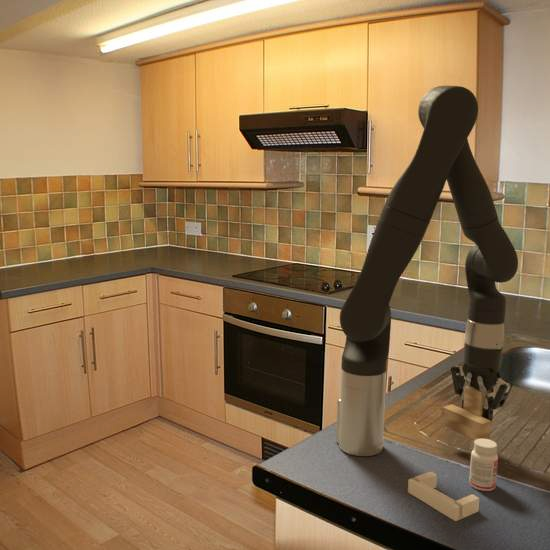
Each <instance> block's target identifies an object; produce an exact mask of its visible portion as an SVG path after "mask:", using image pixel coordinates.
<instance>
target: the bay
mask: <svg viewBox="0 0 550 550" xmlns="http://www.w3.org/2000/svg"><path fill="white" fill-rule="evenodd" d="M437 479H438V475H437V474H436V473H435V472H433V471H428V472H425V473H422V474H420V475H417V476H414V477H411V478H409V479H408V483H407V485H408V486H407V493H408V494H409V495H412V496H413V497H416V498H417V499H418V500H420V501H421V502H423V503H425V504H426V505H428V506H430V507H431V508H433V509H435V510H436V511H438V512H439V513H441V514H442V515H445V516H446V517H448V518H449V519H451V520H452V521H454V522H458V521H460V520H462V519H464V518H467V517H469V516H471V515H474V514H476V513H478V512H479V506H480V497H478V496H476V495H475V494H472V493H471V494H470V495H466V496H464V497H462V498H459V499H458V500H455V499H453V498H452V497H450V496H448V495H445V494H444V493H442V492H440V491H439V490H437V489H435V488H437Z"/></svg>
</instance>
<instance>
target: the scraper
mask: <svg viewBox="0 0 550 550" xmlns="http://www.w3.org/2000/svg"><path fill="white" fill-rule="evenodd" d="M491 390H492V389H491ZM491 390H488V391H486V392H487V393H489V392H490V391H491ZM482 393H483V392H480V390H479V389H476V388H474V387H471V386H470V387H467V386H465V394H464V405H463V409H462V407H460V406H457V405H455V404H451V403H450V404H448V405H444V406H442V409H441V418H440V421H441V422H440V425H441V426H443V427H444V428H447V429H449V430H451V431H453V432H456V433H459V434H460V435H463V436H464V437H467V438H469V439H471V440H473V441H475V440H476V439H489V440H491V434H492V433H491V430H492V422H493V420H492V421H491V420H488V419H486V418H484V417H482V409H483V408H484V407H483V398H482Z"/></svg>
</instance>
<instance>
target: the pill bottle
mask: <svg viewBox="0 0 550 550" xmlns="http://www.w3.org/2000/svg"><path fill="white" fill-rule="evenodd" d="M473 441H474V442H473V449H472V451H471V453H470V463H469V465H470V467H469V477H468V483H469V485H470V486H471V487H472V488H473V489H475V490H479V491H483V492H490V491H493V490H495V489H496V488H497V487H496V486H497V475H498V465H499V463H498V462H499V455H498V454H497V451H498V444H497V442H495V441H493V440H492V439H490V440H489V439H476V440H473Z"/></svg>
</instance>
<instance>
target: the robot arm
mask: <svg viewBox="0 0 550 550" xmlns="http://www.w3.org/2000/svg"><path fill="white" fill-rule="evenodd" d="M478 104H479V103H478V99H477V97H476V96H475V94H474V93H473V92H472V91H471V90H470V89H468V88H467V87H463V86H460V85H439V86H436V87H433V88H431V89H429V90H428V91H427V92H426V93H424V95H423V96H422V97H421V100H420V102H419V105H418V110H417V112H418V113H417V114H418V120H419V122H420V124H421V125H422V127H423V131H422V135H421V138H420V140H419V144H418V146H417V149H416V151H415V153H414V155H413V157H412V159H411V160H410V162H409V164H408V166H407V167H406V168H405V170H404V172H402V174H401V175H400V176H399V178H398V179H397V181H396V183H394V185H393V187H392V189H391V190H390V192H389V194H388V196H387V198H386V200H385V203H384V205H383V207H382V210H381V212H380V215H379V216H378V219H377V222H376V225H375V228H374V231H373V234H372V235H371V236H372V237H371V240H370V243H369V245H368V249H367V252H366V255H365V259H364V262H363V264H362V268H361V270H360V272H359V275H358V277H357V279H356V281H355V283H354V285H353V286H352V288H351V290H350V292H349V293H348V295H347V298H346V299H345V301H344V303H343V305H342V306H341V309H340V313H339V324H340V328H341V330H342V332H343V333H344V335H345V336H346V337H345V344H344V347H343V352H342V355H341V364H340V365H341V366H340V367H341V371H340V398H339V399H338V400H337V406H336V409H337V410H336V438H335V441H336V443H337V444H338V447H339V448H340V450H341V451H343V452H344V453H346V454H348V455H351V456H357V457H371V456H372V457H373V456H377V455H378V454H380V453H381V452H382V451H383V448H384V432H385V431H384V430H385V411H386V410H385V407H386V406H385V405H386V386H387V385H386V384H387V362H388V359H389V353H390V343H391V342H390V341H391V330H392V311H391V309H392V308H391V305H390V302H391V299H392V296H393V294H394V292H395V289H396V286H397V285H398V282H399V280H400V279H401V277H402V275H403V273H404V272H405V271H406V269H407V267H408V265H409V264H410V263H411V261H412V259H413V257H414V255H415V254H416V252H417V251H418V249H419V247H420V245H421V243H422V242H423V239H424V236H425V234H426V232H427V229H428V227H429V224H430V222H431V220H432V217H433V214H434V212H435V209H436V207H437V205H438V203H439V200H440V197H441V196H442V192H443V190H444V188H445V185H446V182H447V185H448V188H449V191H450V194H451V197H452V201H453V205H454V208H455V211H456V214H457V217H458V220H459V224H460V227H461V230H462V233H463V235H464V236H465V238H466V239H468V240H470V241H472V242H473V243H474V244H475V245H473V246H472V247H471V248H470V249H469V251H468V253H467V256H466V258H465V262H464V263H465V265H464V267H465V269H464V270H465V271H464V272H465V279H466V285H467V291H468V296H469V304H468V305H469V306H468V313H467V314H468V315H467V321H466V326H465V333H464V344H463V345H464V346H463V353H462V354H463V356H462V357H463V358H462V361H463V364H462V365H460V364H459V365H455V366H451V367H450V373H451V379H452V384H453V388H454V389H453V390H454V394H455V395H456V396H457V395H459V397H461V400H462V401H461V402H462V403H461V408H462V409H463V405H464V394H465V386H467V387H470V386H471V387H474V388H476V389H479V390H480V392H483V393H482V398H483V407H484V408H483V409H482V417H484V418H486V419H488V420H491V421H492V422H493V417H494V410H497V409H499V408H503V407H504V405H505V403H506V402H507V399H508V397H509V396H510V395H509V394H510V392H511V391H512V388H513V384H512V383H511V382H509V381H508V382H506V381H505V380H503V379H502V377H501V373H500V369H501V366H502V361H503V349H504V340H505V320H506V319H505V317H506V308H507V299H506V296H505V295H504V294H503V293H501V292H500V290H498V289H497V286H496V283H507V282H509V281H511V280H512V279H513V278H514V277H515V276H516V274H517V271H518V268H519V259H518V254H517V250H516V249H515V246H514V244H513V243H512V242H511V240H510V237H509V236H508V235H507V232H506V231H505V229H504V228H503V226H502V224H500V221H499V216H498V212H497V209H496V205H495V202H494V200H493V196H492V193H491V191H490V188H489V186H488V183H487V181H486V179H485V178H484V175H483V173H482V172H481V170H480V167H479V166H478V163H477V161H476V160H475V157H474V155H473V152H472V150H471V146H470V143H469V136H470V134H471V133H472V130H473V129H474V127H475V124H476V123H477V120H478V115H479V105H478ZM496 385H497V386H496ZM491 389H492V390H491ZM488 390H491V391H490V392H489V393H487V392H486V391H488ZM496 390H497V391H496Z"/></svg>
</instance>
